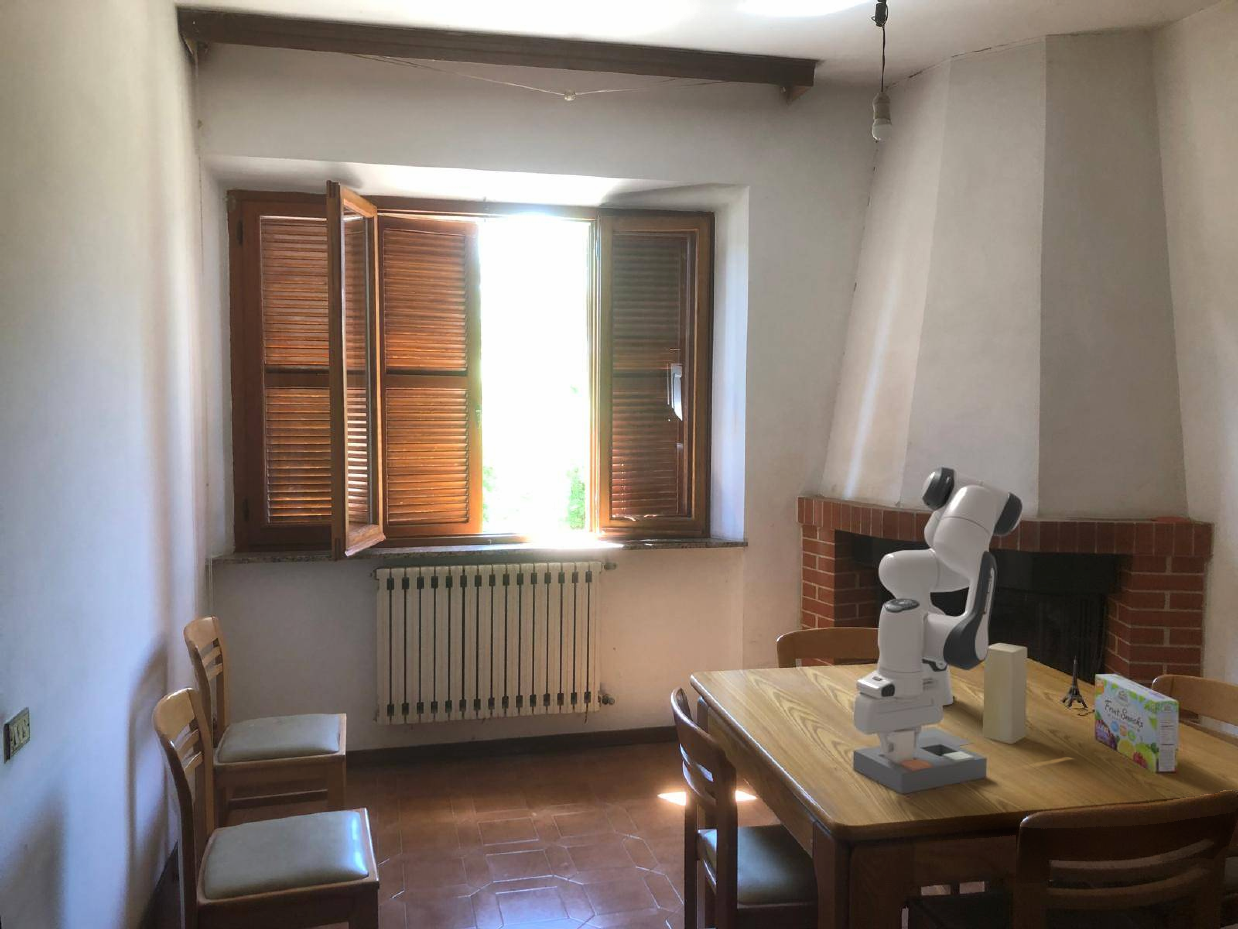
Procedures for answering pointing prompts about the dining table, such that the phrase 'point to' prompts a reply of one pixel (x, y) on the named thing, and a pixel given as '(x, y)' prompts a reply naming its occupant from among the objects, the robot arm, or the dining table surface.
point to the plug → (901, 746)
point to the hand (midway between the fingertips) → (898, 749)
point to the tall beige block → (1005, 693)
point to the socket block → (921, 766)
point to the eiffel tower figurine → (1074, 687)
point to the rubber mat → (942, 736)
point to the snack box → (1137, 722)
